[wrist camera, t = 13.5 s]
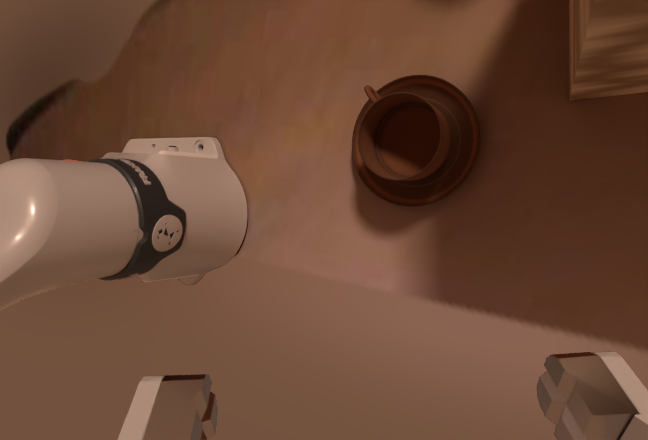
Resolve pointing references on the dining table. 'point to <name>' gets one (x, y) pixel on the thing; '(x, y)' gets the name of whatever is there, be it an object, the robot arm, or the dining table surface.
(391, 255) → the dining table surface
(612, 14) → the zigzag patterned box
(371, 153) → the cup and saucer
